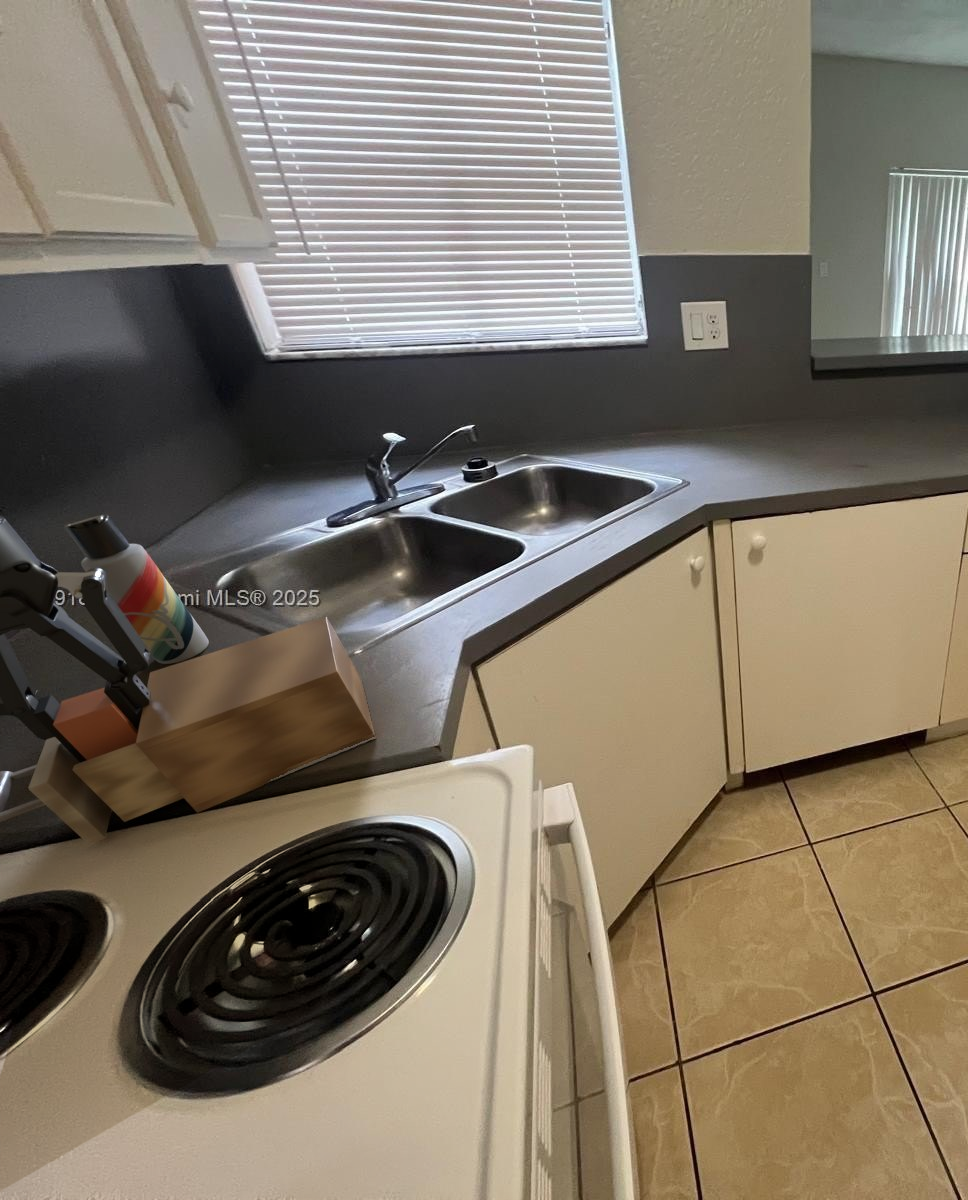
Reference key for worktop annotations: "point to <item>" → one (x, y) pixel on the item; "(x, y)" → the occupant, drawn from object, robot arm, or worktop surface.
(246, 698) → the cabinet
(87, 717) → the block
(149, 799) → the drawer
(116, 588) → the lotion bottle
